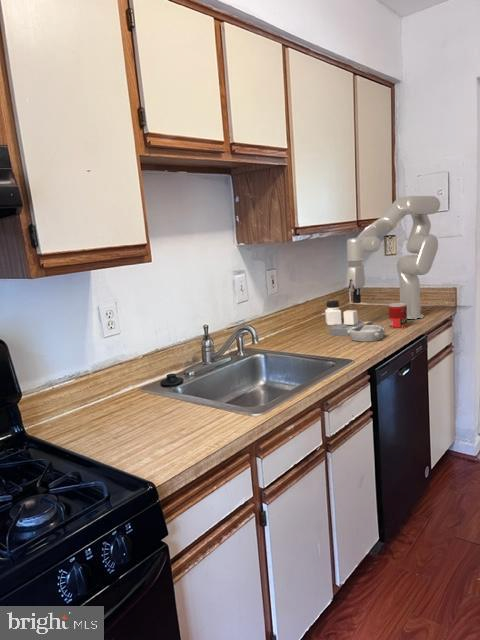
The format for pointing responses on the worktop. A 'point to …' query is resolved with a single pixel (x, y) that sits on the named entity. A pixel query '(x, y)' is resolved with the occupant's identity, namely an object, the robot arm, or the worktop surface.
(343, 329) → the breaker panel
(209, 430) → the worktop surface
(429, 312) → the worktop surface
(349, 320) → the block
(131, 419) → the worktop surface
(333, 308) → the medicine bottle
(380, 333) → the dish
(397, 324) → the canned food
